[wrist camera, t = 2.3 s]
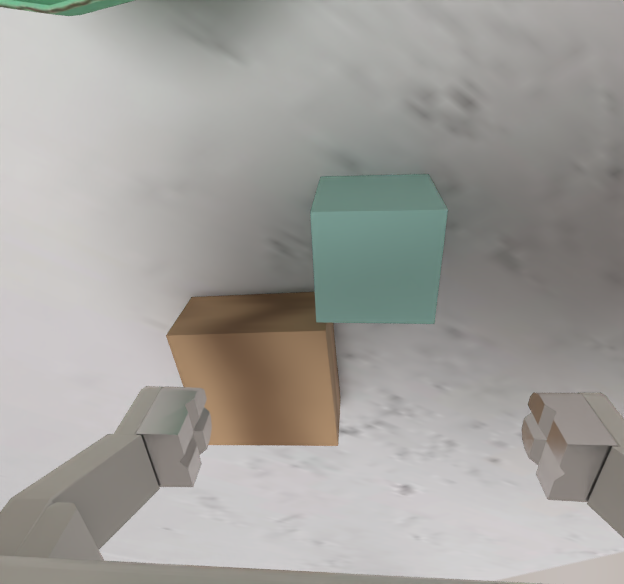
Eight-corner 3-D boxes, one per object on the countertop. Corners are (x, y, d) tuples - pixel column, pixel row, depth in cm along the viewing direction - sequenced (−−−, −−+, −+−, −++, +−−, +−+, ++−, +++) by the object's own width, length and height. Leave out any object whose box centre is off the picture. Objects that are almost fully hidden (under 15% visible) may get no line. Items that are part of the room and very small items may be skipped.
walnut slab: (330, 288, 23) (325, 330, 20) (340, 395, 27) (338, 445, 24) (193, 294, 24) (166, 335, 21) (222, 396, 28) (203, 444, 25)
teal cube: (428, 173, 19) (448, 209, 15) (419, 269, 22) (434, 324, 18) (320, 176, 20) (310, 212, 16) (324, 269, 23) (316, 322, 18)
